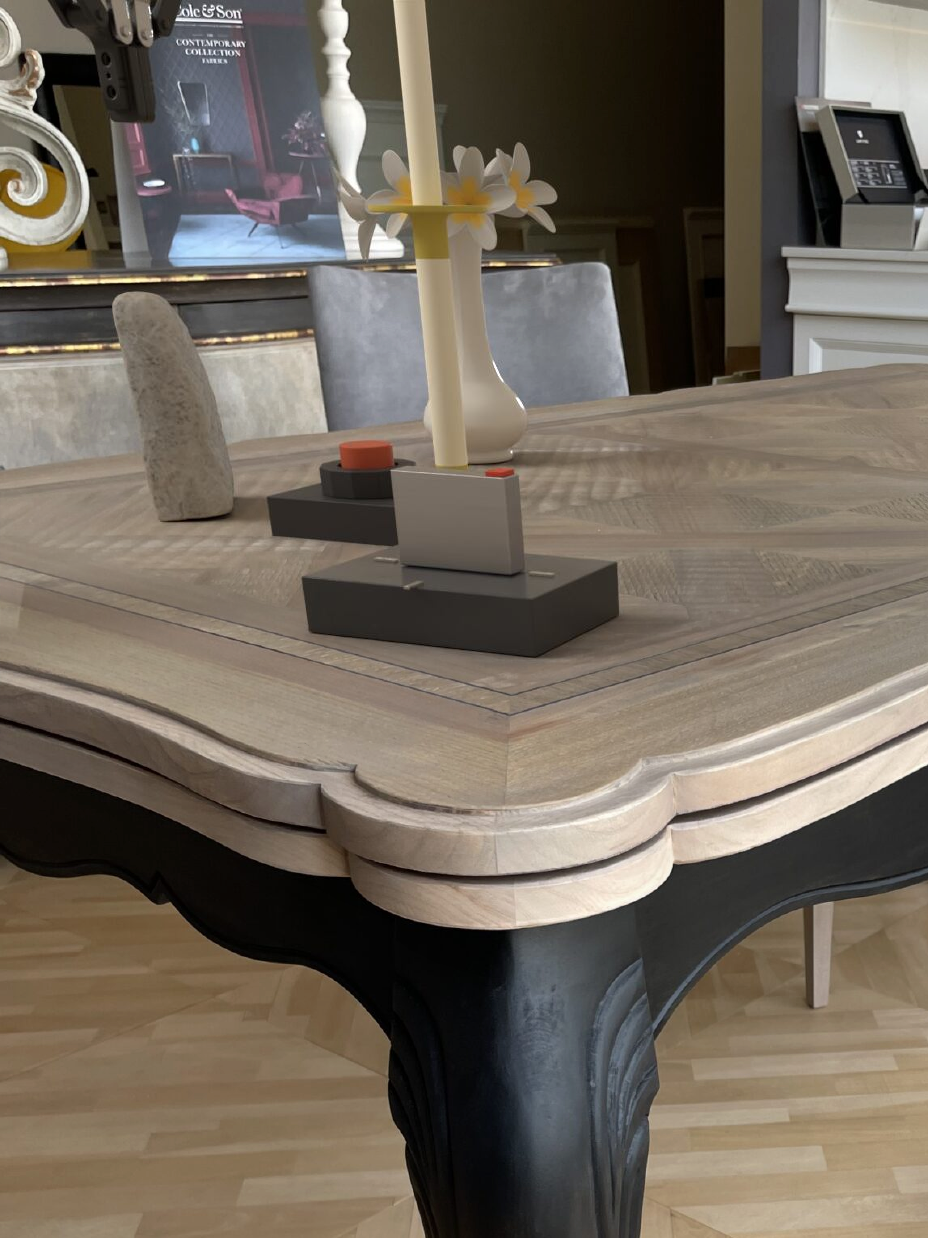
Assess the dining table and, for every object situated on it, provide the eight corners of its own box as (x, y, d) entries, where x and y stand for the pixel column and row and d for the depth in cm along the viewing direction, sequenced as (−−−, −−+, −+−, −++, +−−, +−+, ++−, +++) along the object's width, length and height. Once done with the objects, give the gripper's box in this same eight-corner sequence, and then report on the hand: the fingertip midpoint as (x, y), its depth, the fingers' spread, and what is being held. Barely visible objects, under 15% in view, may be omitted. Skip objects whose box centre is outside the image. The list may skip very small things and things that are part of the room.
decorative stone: (170, 498, 119) (133, 286, 112) (249, 497, 120) (217, 286, 113) (143, 524, 110) (101, 294, 103) (229, 522, 111) (193, 294, 104)
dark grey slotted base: (301, 634, 82) (293, 575, 81) (414, 591, 92) (408, 537, 90) (530, 660, 78) (525, 598, 77) (624, 612, 87) (622, 556, 86)
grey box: (400, 565, 84) (389, 464, 81) (416, 559, 85) (405, 460, 83) (511, 575, 82) (503, 473, 79) (526, 569, 83) (518, 468, 80)
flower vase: (359, 455, 140) (321, 141, 128) (554, 446, 146) (535, 145, 134) (380, 476, 130) (341, 136, 118) (590, 465, 136) (573, 141, 124)
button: (331, 472, 105) (328, 445, 104) (361, 465, 108) (358, 439, 107) (376, 475, 104) (372, 448, 103) (405, 468, 107) (402, 442, 106)
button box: (272, 536, 106) (261, 468, 104) (347, 515, 114) (339, 451, 111) (407, 548, 103) (399, 478, 101) (475, 525, 110) (470, 460, 108)
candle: (395, 488, 124) (334, -74, 106) (519, 486, 125) (479, -70, 107) (384, 510, 115) (315, -99, 97) (517, 508, 117) (473, -94, 99)
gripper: (104, -221, 88) (158, 128, 96) (-83, -284, 77) (-5, 116, 85) (211, -230, 85) (257, 128, 94) (34, -297, 74) (103, 116, 83)
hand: (132, 122), depth 89 cm, fingers closed
